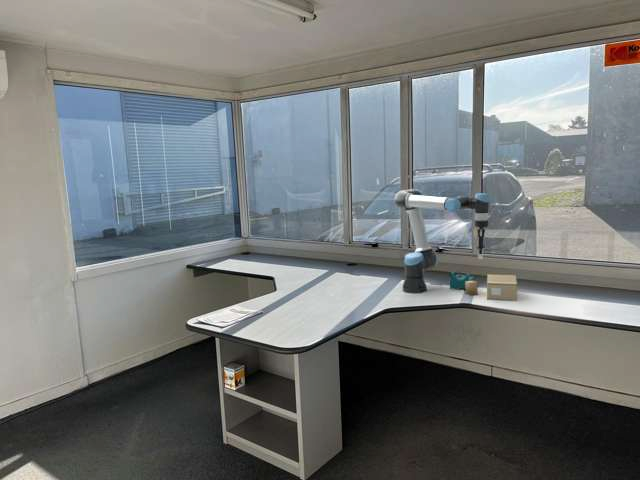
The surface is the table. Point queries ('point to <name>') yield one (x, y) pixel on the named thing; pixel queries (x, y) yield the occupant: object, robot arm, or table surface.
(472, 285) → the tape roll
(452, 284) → the teal irregular block
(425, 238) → the robot arm
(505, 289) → the carton
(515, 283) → the lid
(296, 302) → the table surface
